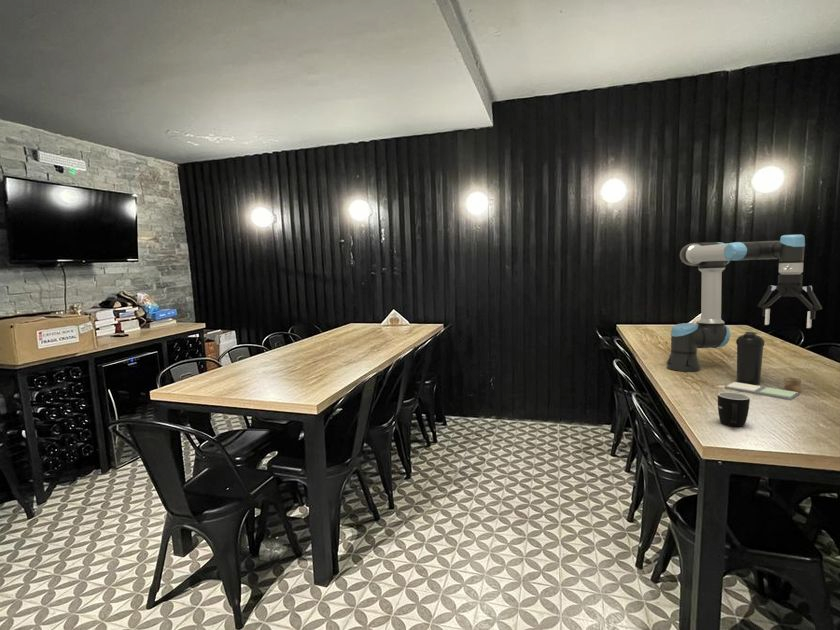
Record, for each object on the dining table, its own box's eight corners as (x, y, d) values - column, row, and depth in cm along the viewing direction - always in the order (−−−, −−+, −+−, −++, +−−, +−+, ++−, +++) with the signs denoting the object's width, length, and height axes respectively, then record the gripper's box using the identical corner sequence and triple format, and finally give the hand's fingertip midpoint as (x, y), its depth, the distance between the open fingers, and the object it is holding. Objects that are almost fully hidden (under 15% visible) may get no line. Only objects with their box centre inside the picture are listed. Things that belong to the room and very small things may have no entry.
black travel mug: (763, 382, 201) (766, 332, 198) (760, 387, 194) (763, 335, 191) (736, 378, 208) (738, 330, 205) (732, 383, 200) (734, 333, 198)
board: (724, 388, 194) (724, 385, 193) (734, 383, 200) (734, 381, 200) (790, 400, 175) (791, 397, 175) (799, 394, 182) (799, 391, 181)
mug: (716, 418, 159) (717, 390, 158) (747, 421, 154) (748, 393, 153) (717, 429, 149) (718, 400, 148) (750, 433, 144) (752, 403, 143)
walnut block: (784, 391, 187) (785, 379, 186) (784, 388, 191) (785, 377, 190) (800, 393, 184) (800, 381, 183) (799, 390, 188) (800, 378, 187)
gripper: (750, 274, 185) (747, 324, 188) (829, 273, 165) (825, 330, 168) (756, 273, 190) (754, 322, 192) (834, 273, 169) (830, 327, 172)
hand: (787, 326), depth 180 cm, fingers open, 13 cm apart
